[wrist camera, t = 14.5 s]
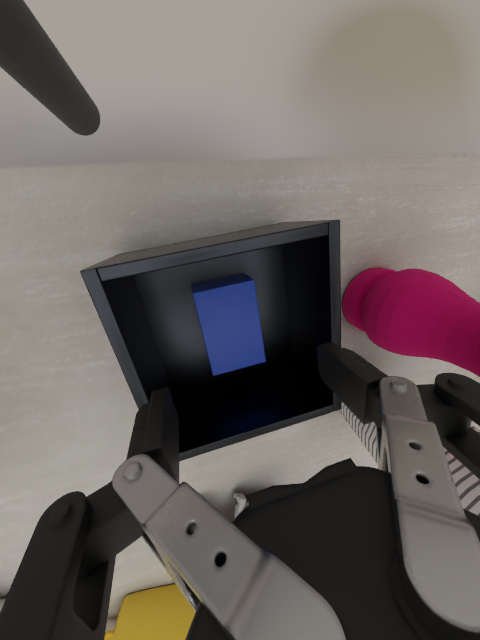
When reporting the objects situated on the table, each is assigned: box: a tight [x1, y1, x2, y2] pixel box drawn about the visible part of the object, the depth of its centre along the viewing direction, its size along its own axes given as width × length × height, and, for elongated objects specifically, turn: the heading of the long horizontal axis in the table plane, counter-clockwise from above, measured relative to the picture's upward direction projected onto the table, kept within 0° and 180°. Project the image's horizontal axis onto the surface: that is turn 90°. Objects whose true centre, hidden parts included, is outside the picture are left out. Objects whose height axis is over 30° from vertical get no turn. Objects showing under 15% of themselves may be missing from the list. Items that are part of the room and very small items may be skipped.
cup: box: [339, 375, 480, 516], centre depth 21 cm, size 8×8×16 cm
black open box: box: [80, 220, 342, 461], centre depth 18 cm, size 13×13×8 cm
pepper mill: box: [343, 268, 480, 377], centre depth 16 cm, size 7×7×20 cm
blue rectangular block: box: [191, 273, 266, 376], centre depth 20 cm, size 7×4×3 cm, turn 10°
